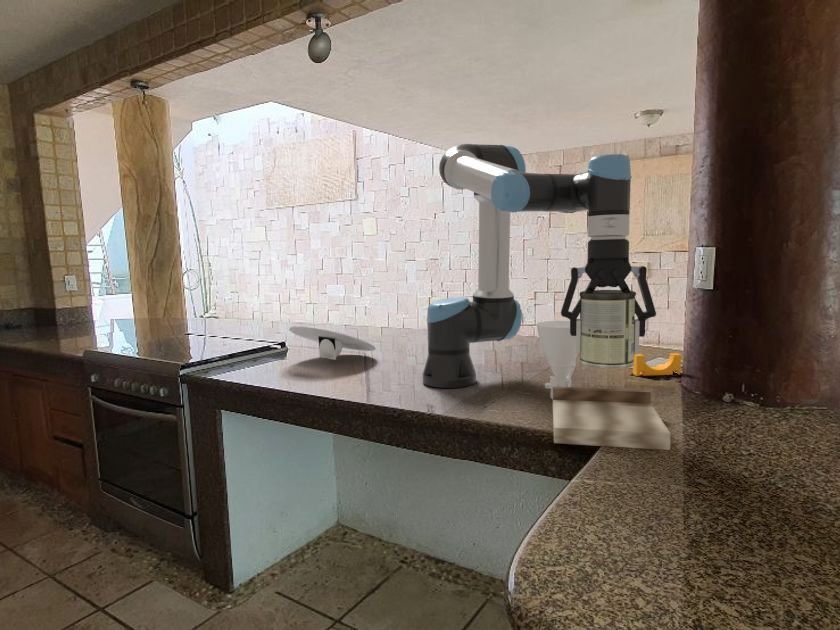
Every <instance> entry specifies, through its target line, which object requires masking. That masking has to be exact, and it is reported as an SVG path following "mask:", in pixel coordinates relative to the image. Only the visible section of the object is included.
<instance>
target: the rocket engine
mask: <svg viewBox="0 0 840 630" xmlns="http://www.w3.org/2000/svg"><path fill="white" fill-rule="evenodd" d="M536 328H537V332H538V337H539V340H540V344H541V347H542V350H543V353H544V356H545V358H546V361H547V364H548V366H549V368H550V370H551V372H552V373H553V375H550V377H549V378H550V380H549V382H546V383H544V388H545V389H550V390H549V393H550V395H549V396H550V399H552V400H553V387H572V378H571V377H572V375H573V374H574V372H575V368H576V365H577V363H576V359H577V357H578V354H579V353H576V336H571V334H570V320H550V321H548V320H547V321H540V322H537V323H536Z"/></svg>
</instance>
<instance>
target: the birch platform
mask: <svg viewBox="0 0 840 630" xmlns="http://www.w3.org/2000/svg"><path fill="white" fill-rule="evenodd" d="M651 395H652V392H651V390H650V389H648V390H647V389H626V388H625V389H623V388H619V389H618V388H599V387H598V388H596V387H572V386H571V387H553V399H552V425H553V427H552V428H553V444H561V445H562V444H565V445H580V446H597V447H599V446H600V447H612V448H613V447H615V448H617V447H618V448H630V449H631V448H632V449H633V448H634V449H649V450H664V451H665V450H666V451H667V450H669V451H670V450H671V434H672V433H671V432H670V430H669V429H668V428H667V426H666V424H665V423H664V421H663V420H662V419H661V417H660V415H659V414H658V413H657V411H656V409H655V408H654V407H653V405H652V403H651V401H652V396H651Z"/></svg>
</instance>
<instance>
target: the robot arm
mask: <svg viewBox="0 0 840 630" xmlns="http://www.w3.org/2000/svg"><path fill="white" fill-rule="evenodd" d="M438 165H439V167H438V171H439V175H440V177H441V179H442V181H443V183H445V184H446V185H448V187H450V188H453V189H455V190H469V191H471V192H473V198H474V199H475V200H476V201H477V202H478V204H479V206H478V267H477V268H478V271H477V272H478V274H477V275H478V276H477V277H478V278H477V279H478V283H477V285H478V287H477V289H476V290H475V291H474V292H473V294H472V301H470V300H469V298H468V297H466V296H458V297H448V298H441V299H438V300H435V301H432V302H431V303H430V304H428V306H427V315H426V322H427V324H426V325H427V353H428V354H427V358H426V361H425V365H424V368H423V372H422V383H423V384H425V385H426V386H429V387H433V388H441V389H442V388H443V389H445V388H446V389H448V388H449V389H451V388H452V389H453V388H455V389H456V388H464V387H469V386H472V385H474V384H476V382H477V371H476V370H475V369H476V368H475V366H474V363H473V360H472V357H471V354H470V345H471V344H474V343H484V342H486V343H487V342H501V341H504V340H505V341H506V340H510V339H513V338H514V337H515V336H516V335H517V334H518V332H519V331H520V328H521V325H522V320H523V312H522V309H521V304H520V302H519V301H518V300H516V299H515V293H513V292H512V291H511V290H510V287H509V286H510V278H509V277H510V247H511V246H510V241H511V240H510V239H511V213H518V212H547V213H548V212H549V213H550V212H551V213H552V212H553V213H554V212H558V213H562V214H576V213H577V212H583V211H588V212H587V237H588V238H590V240H588V241H587V262H586V265H585V266H582V267H581V266H580V267H575V266H573V267H571V268H570V278H571V279H570V280H569V281H570V282H569V285H568V288H567V291H566V294H565V297H564V301H563V304H562V307H561V311H560V314H561V317H563V318H566V319H569V321H570V334H571V336H576V353H578V354H580V340H581V320H580V318H578V317H579V316H580V312H581V300H580V298H579V300H578V301H577V303H576V304H575V306H574V308H573V309H572V310H571V311H570V307H571V304H572V301H573V298H574V295H575V291H576V287H577V286H578V282H579V279H581V278H582V276H583V274H586V275H587V276H588V277H589V279H590V281H589V283H588V284H587V285H586V287H585V290H584V293H588V294H592V293H593V291H594V290H597V287H598V288H607V287H610V288H617V287H619V290H621V291H622V292H623V293H631V291H632V290H630V287H629V285H628V283H627V281H625V280H626V278H627V277H628V276H629V275H630V273H632V274H633V277H635V278H637V283H638V284H637V285H638V288H639V290H640V293H641V297H642V301H643V304H644V307H645V311H643V310H642V307H641V306H640V304H639V302H638V300H637V299H636V298H635V316H636V317H637V318H635V324H634V354H636V355H639V354H640V338H641V337H642V338H644V337H645V335H646V321H647V320H648V319H650V318H655V317H656V316H657V311H656V308H655V305H654V301H653V297H652V293H651V292H650V287H649V284H648V280H647V274H648V273H647V271H648V270H647V266H645V265H639V266H633V265H631V263H630V241H629V239H627V237H628V236H629V235H630V214H631V213H630V209H631V179H632V175H631V172H632V171H631V160H630V157H629V156H627V155H626V154H623V153H609V154H608V153H607V154H601V155H596V156H593V157H592V158H590V159H589V161H588V167H587V171H585V172H581V173H569V174H568V173H533V172H526V169H527V168H526V163H525V159H524V156H523V155H522V153H521V151H520V150H519V149H518V148H517V147H515V146H511V145H503V144H474V143H473V144H472V143H463V144H457V145H455V146H453V147H450V148H449V149H448V150H446V152H444V154H443V155H442V157H441V159H440V161H439V164H438Z"/></svg>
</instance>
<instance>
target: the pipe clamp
mask: <svg viewBox="0 0 840 630" xmlns="http://www.w3.org/2000/svg"><path fill="white" fill-rule="evenodd" d="M673 371H675V372H677V373H678V375H681V374H682V354H680V353H677V352H675V353H674V352H673V353H669V358H668V359H667V361H666V362H665V363H664V362H663V363H660V364H657V365H655V366H649V365H648V364H647V363H646V360H645V355H644V354H642V353H639V355H636V354H634V365H633V366H632V374H633V375H634V376H636V377H641V376H643V377H644V376H647V377H649V376H665V375H666V376H670V375H673V374H674V373H673ZM680 373H681V374H680Z"/></svg>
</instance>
